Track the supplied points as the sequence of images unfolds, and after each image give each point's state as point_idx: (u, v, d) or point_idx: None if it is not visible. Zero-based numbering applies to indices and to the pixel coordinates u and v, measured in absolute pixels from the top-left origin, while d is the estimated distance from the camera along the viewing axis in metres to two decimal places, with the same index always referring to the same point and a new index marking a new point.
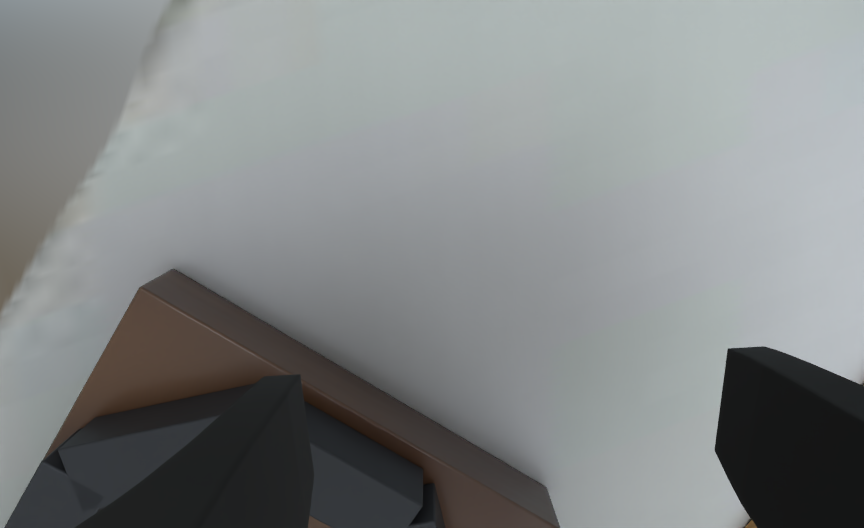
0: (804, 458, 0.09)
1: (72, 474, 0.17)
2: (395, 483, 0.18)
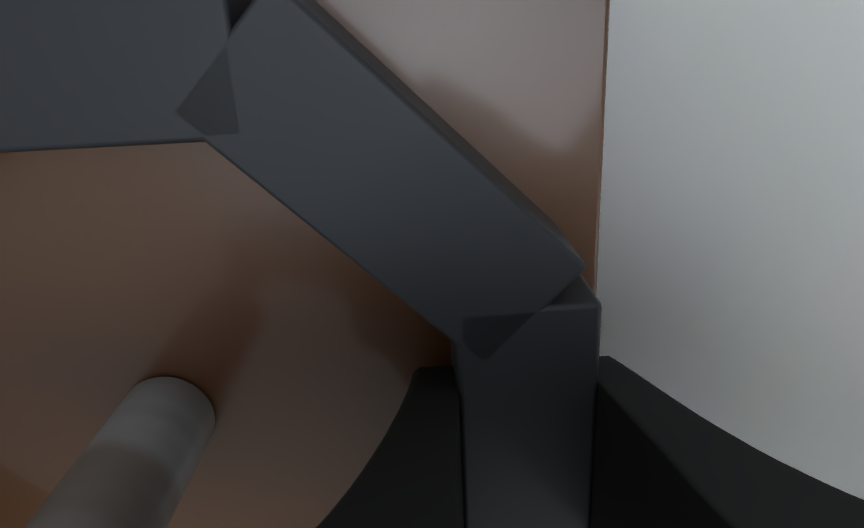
0: (616, 470, 0.09)
1: None
2: None
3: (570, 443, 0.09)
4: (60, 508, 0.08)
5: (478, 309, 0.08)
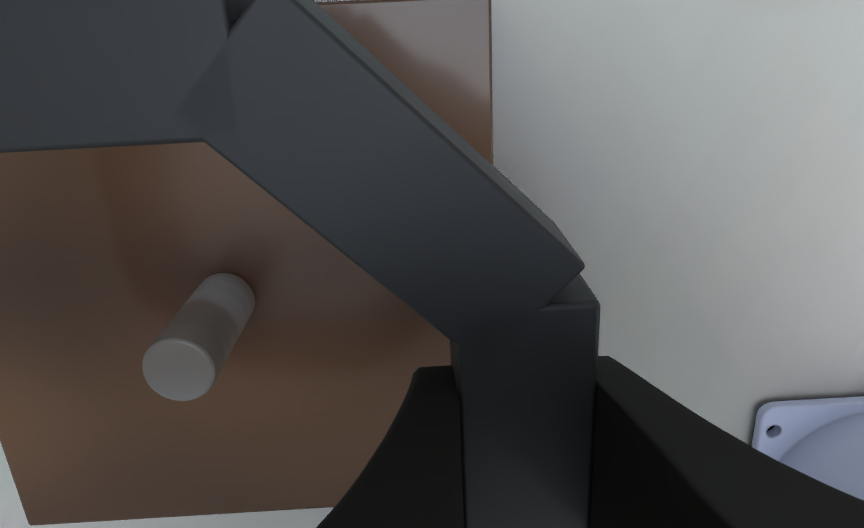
0: (615, 470, 0.09)
1: None
2: None
3: (569, 443, 0.09)
4: (179, 323, 0.14)
5: (477, 309, 0.08)
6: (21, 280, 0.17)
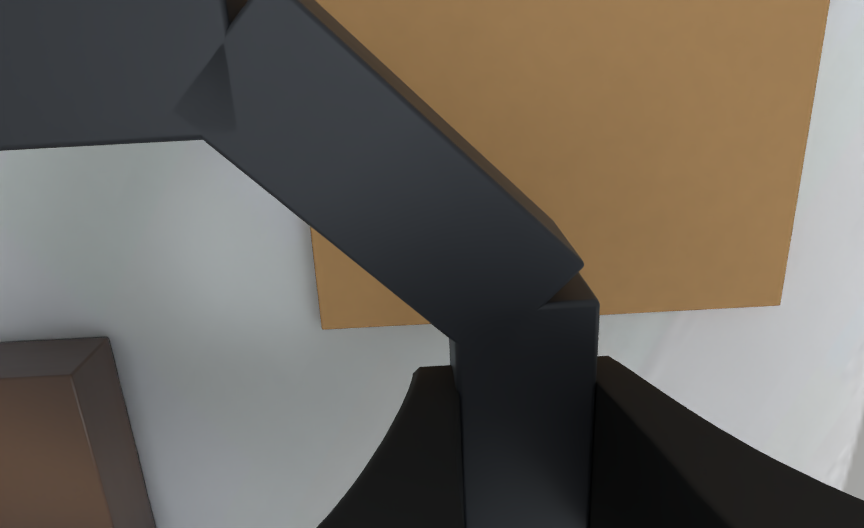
0: (615, 470, 0.09)
1: None
2: None
3: (569, 442, 0.09)
4: None
5: (476, 308, 0.08)
6: None
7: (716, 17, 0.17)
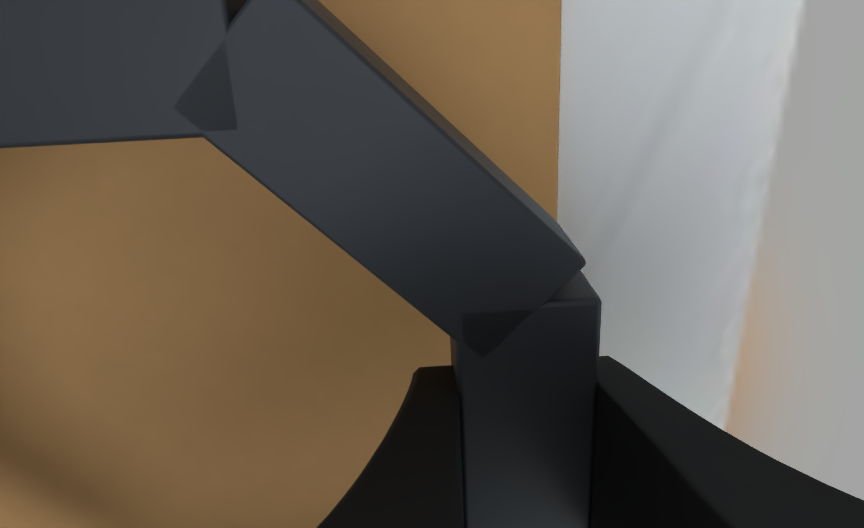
0: (615, 470, 0.09)
1: None
2: None
3: (570, 440, 0.09)
4: None
5: (477, 306, 0.08)
6: None
7: (416, 345, 0.14)
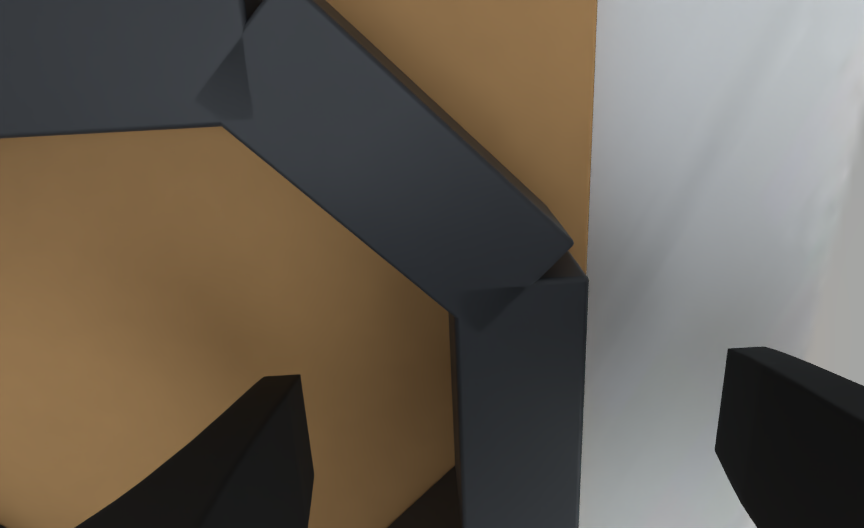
0: (804, 458, 0.09)
1: None
2: None
3: (560, 410, 0.10)
4: None
5: (474, 284, 0.09)
6: None
7: (418, 403, 0.12)
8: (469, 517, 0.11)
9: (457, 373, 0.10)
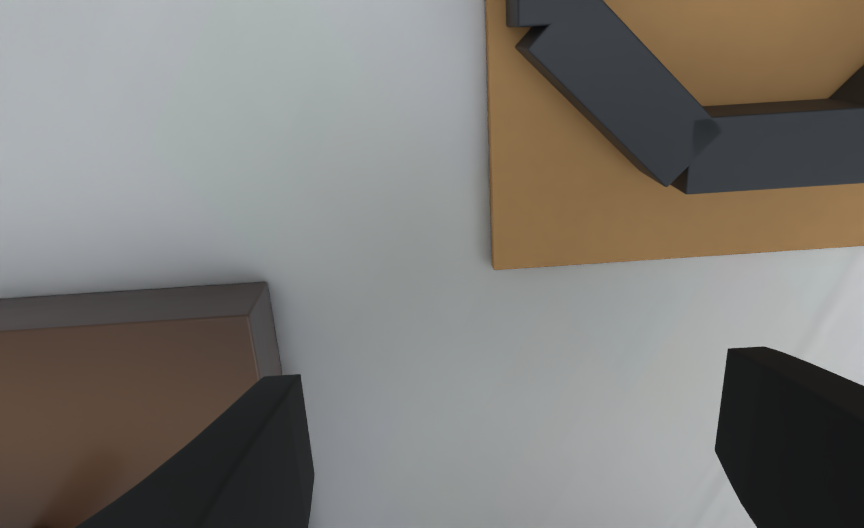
0: (804, 458, 0.09)
1: None
2: None
3: None
4: None
5: None
6: None
7: None
8: None
9: None
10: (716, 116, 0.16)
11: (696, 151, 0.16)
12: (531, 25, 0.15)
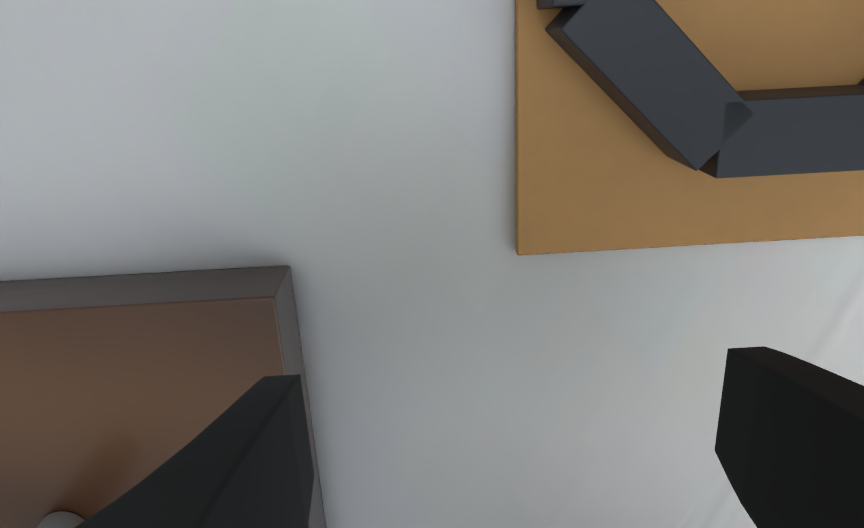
0: (804, 458, 0.09)
1: None
2: None
3: None
4: None
5: None
6: None
7: None
8: None
9: None
10: (748, 99, 0.16)
11: (727, 134, 0.16)
12: (565, 5, 0.15)
